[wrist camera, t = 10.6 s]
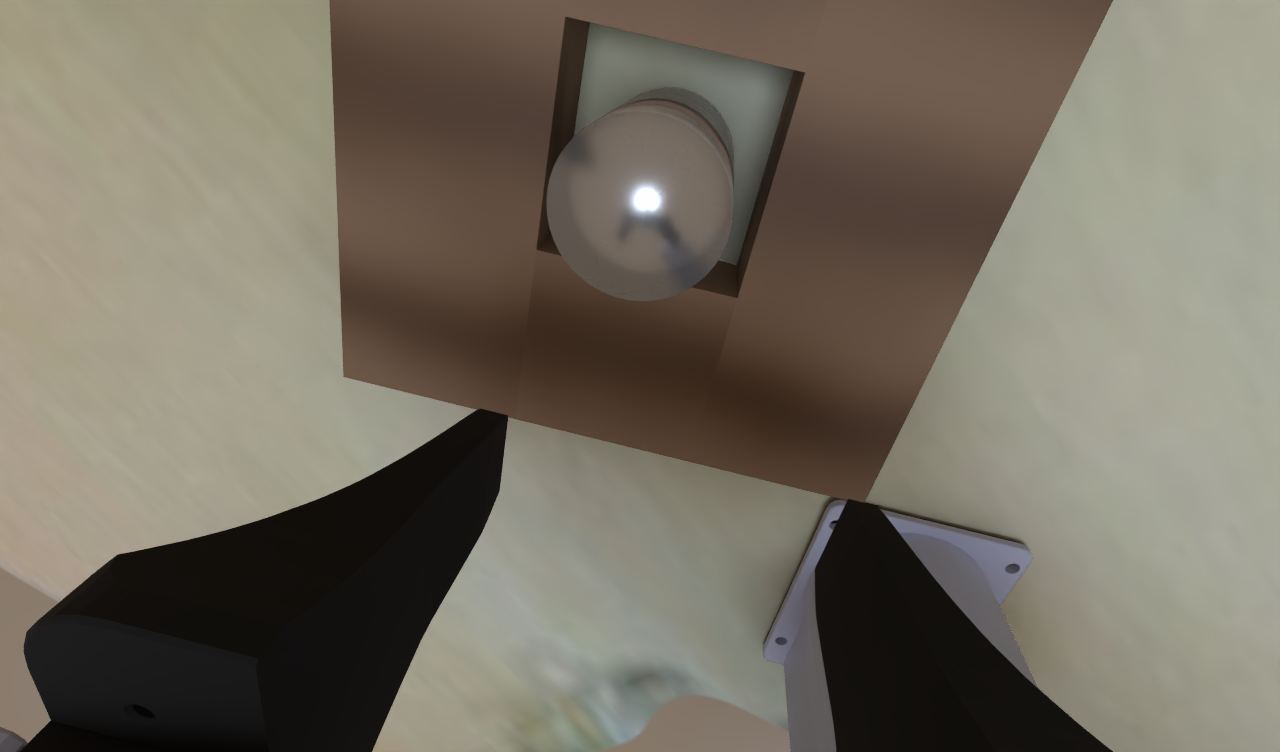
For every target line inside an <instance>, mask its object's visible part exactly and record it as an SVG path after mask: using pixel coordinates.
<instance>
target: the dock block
mask: <svg viewBox="0 0 1280 752" xmlns="http://www.w3.org/2000/svg"><path fill="white" fill-rule="evenodd" d="M1112 1H1113V0H330V23H331V50H332V77H333V104H334V131H335V158H336V184H337V211H338V238H339V265H340V292H341V319H342V346H343V373H344V377H347V378H351V379H355V380H359V381H363V382H367V383H371V384H375V385H379V386H383V387H387V388H391V389H396V390H400V391H404V392H408V393H412V394H416V395H420V396H424V397H428V398H432V399H436V400H440V401H444V402H448V403H453V404H457V405H461V406H465V407H469V408H473V409H477V410H478V409H480V408H481V409H485V410H489V411H493V412H497V413H501V414H505V415H508V417H510V418H514V419H518V420H522V421H526V422H530V423H534V424H538V425H542V426H546V427H550V428H554V429H558V430H563V431H567V432H571V433H575V434H579V435H583V436H587V437H591V438H595V439H599V440H603V441H607V442H611V443H615V444H620V445H624V446H628V447H632V448H636V449H640V450H644V451H648V452H652V453H656V454H660V455H664V456H668V457H673V458H677V459H681V460H685V461H689V462H693V463H697V464H701V465H705V466H709V467H713V468H717V469H721V470H725V471H730V472H734V473H738V474H742V475H746V476H750V477H754V478H758V479H762V480H766V481H770V482H774V483H778V484H782V485H787V486H791V487H795V488H799V489H803V490H807V491H811V492H815V493H819V494H823V495H827V496H831V497H835V498H840V499H844V500H848V499H851V500H855V501H860V502H864V503H865V501H866V499H867V496H868V494H869V492H870V490H871V488H872V486H873V484H874V482H875V480H876V478H877V476H878V474H879V472H880V470H881V468H882V466H883V464H884V462H885V460H886V458H887V456H888V454H889V452H890V450H891V448H892V446H893V444H894V442H895V440H896V438H897V436H898V434H899V432H900V430H901V428H902V426H903V424H904V422H905V420H906V418H907V416H908V414H909V412H910V410H911V408H912V406H913V404H914V402H915V399H916V397H917V395H918V393H919V391H920V389H921V387H922V385H923V383H924V381H925V379H926V377H927V375H928V373H929V371H930V369H931V367H932V365H933V363H934V361H935V359H936V357H937V355H938V353H939V351H940V349H941V347H942V345H943V343H944V341H945V339H946V337H947V335H948V333H949V331H950V329H951V327H952V325H953V323H954V321H955V319H956V317H957V315H958V313H959V311H960V309H961V307H962V305H963V302H964V300H965V298H966V296H967V294H968V292H969V290H970V288H971V286H972V284H973V282H974V280H975V278H976V276H977V274H978V272H979V270H980V268H981V266H982V264H983V262H984V260H985V258H986V256H987V254H988V252H989V250H990V248H991V246H992V244H993V242H994V240H995V238H996V236H997V234H998V232H999V230H1000V228H1001V226H1002V224H1003V222H1004V220H1005V218H1006V216H1007V214H1008V212H1009V210H1010V208H1011V205H1012V203H1013V201H1014V199H1015V197H1016V195H1017V193H1018V191H1019V189H1020V187H1021V185H1022V183H1023V181H1024V179H1025V177H1026V175H1027V173H1028V171H1029V169H1030V167H1031V165H1032V163H1033V161H1034V159H1035V157H1036V155H1037V153H1038V151H1039V149H1040V147H1041V145H1042V143H1043V141H1044V139H1045V137H1046V135H1047V133H1048V131H1049V129H1050V127H1051V125H1052V123H1053V121H1054V119H1055V117H1056V115H1057V113H1058V111H1059V108H1060V106H1061V104H1062V102H1063V100H1064V98H1065V96H1066V94H1067V92H1068V90H1069V88H1070V86H1071V84H1072V82H1073V80H1074V78H1075V76H1076V74H1077V72H1078V70H1079V68H1080V66H1081V64H1082V62H1083V60H1084V58H1085V56H1086V54H1087V52H1088V50H1089V48H1090V46H1091V44H1092V42H1093V40H1094V38H1095V36H1096V34H1097V32H1098V30H1099V28H1100V26H1101V24H1102V22H1103V20H1104V18H1105V16H1106V14H1107V11H1108V9H1109V7H1110V5H1111V3H1112ZM589 22H591V23H595V24H600V25H604V26H608V27H613V28H617V29H621V30H625V31H630V32H634V33H638V34H643V35H647V36H651V37H655V38H660V39H664V40H668V41H673V42H677V43H681V44H685V45H690V46H694V47H698V48H703V49H707V50H711V51H715V52H720V53H724V54H728V55H732V56H737V57H741V58H745V59H750V60H754V61H758V62H762V63H767V64H771V65H775V66H780V67H784V68H788V69H792V70H794V72H793V76H792V79H791V83H790V86H789V89H788V93H787V96H786V100H785V103H784V107H783V110H782V113H781V117H780V120H779V124H778V127H777V131H776V134H775V137H774V141H773V144H772V148H771V151H770V154H769V158H768V161H767V165H766V168H765V172H764V175H763V178H762V182H761V185H760V189H759V192H758V196H757V199H756V202H755V206H754V209H753V213H752V216H751V220H750V223H749V226H748V230H747V233H746V237H745V240H744V243H743V247H742V250H741V254H740V257H739V261H738V264H737V265H733V264H729V263H724V262H720V261H717V263H716V264H715V266H714V267H713V268H712V269H711V270H710V272H709V273H708V274H707V275H706V276H705V277H704V278H703V279H701V280H700V281H699V282H698V283H697V284H695V285H694V286H692V287H690V288H689V289H687V290H685V291H683V292H681V293H679V294H677V295H674V296H671V297H668V298H665V299H660V300H654V301H632V300H626V299H621V298H617V297H614V296H611V295H608V294H606V293H604V292H602V291H599V290H598V289H596V288H594V287H593V286H591V285H589V284H588V283H587V282H585V281H584V280H583V279H582V278H580V277H579V276H578V275H577V274H576V273H575V272H574V271H573V270H572V269H571V268H570V266H569V265H568V264H567V262H566V261H565V260H564V258H563V257H562V255H561V254H560V252H559V250H558V248H557V246H556V244H555V242H554V240H553V237H552V234H551V231H550V228H549V223H548V217H547V206H546V200H547V189H548V184H549V179H550V176H551V173H552V170H553V167H554V165H555V163H556V161H557V159H558V157H559V155H560V154H561V152H562V151H563V149H564V148H565V146H566V145H567V144H568V143H569V142H570V141H571V139H572V138H573V135H574V128H575V121H576V114H577V107H578V100H579V93H580V86H581V78H582V71H583V64H584V57H585V50H586V43H587V36H588V29H589Z"/></svg>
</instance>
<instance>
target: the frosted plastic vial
mask: <svg viewBox="0 0 1280 752" xmlns="http://www.w3.org/2000/svg"><path fill="white" fill-rule="evenodd" d="M733 187H734V153H733V143H732V138H731V134H730V131H729V128H728V126H727V124H726V122H725V120H724V119H723V117H722V115H721V114H720V113H719V111H718V110H717V109H716V108H715V107H714V106H713V105H712V104H711V103H710V102H709V101H708V100H706V99H705V98H703V97H702V96H700V95H698V94H696V93H694V92H692V91H689V90H686V89H681V88H675V87H664V88H657V89H653V90H649V91H647V92H645V93H642V94H640V95H638V96H637V97H635V98H633V99H632V100H630V101H628V102H627V103H625V104H623V105H622V106H620V107H618V108H617V109H615V110H613V111H612V112H610V113H608V114H607V115H605V116H603V117H602V118H600V119H598V120H597V121H595V122H593V123H592V124H590V125H588V126H587V127H585V128H584V129H582V130H581V131H580V132H579V133H578V134H576V135H575V136H574V137H573V138H572V139H571V141H570V142H569V143H568V144H567V145H566V146H565V148H564V149H563V151H562V152H561V154H560V155H559V157H558V159H557V161H556V163H555V165H554V167H553V170H552V173H551V176H550V179H549V184H548V189H547V200H546V206H547V217H548V223H549V228H550V231H551V234H552V237H553V240H554V242H555V244H556V246H557V248H558V250H559V252H560V254H561V255H562V257H563V258H564V260H565V261H566V262H567V264H568V265H569V266H570V268H571V269H572V270H573V271H574V272H575V273H576V274H577V275H578V276H579V277H580V278H582V279H583V280H584V281H585V282H587V283H588V284H589V285H591V286H593V287H594V288H596V289H598V290H599V291H602V292H604V293H606V294H608V295H611V296H614V297H617V298H621V299H626V300H632V301H654V300H660V299H665V298H668V297H671V296H674V295H677V294H679V293H681V292H683V291H685V290H687V289H689V288H690V287H692V286H694V285H695V284H697V283H698V282H699V281H700V280H701V279H703V278H704V277H705V276H706V275H707V274H708V273H709V272H710V270H711V269H712V268H713V267H714V266H715V264H716V263H717V261H718V260H719V258H720V257H721V255H722V253H723V251H724V249H725V247H726V245H727V242H728V239H729V236H730V232H731V227H732V222H733Z"/></svg>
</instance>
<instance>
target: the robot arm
mask: <svg viewBox="0 0 1280 752" xmlns="http://www.w3.org/2000/svg"><path fill="white" fill-rule="evenodd" d="M507 422H508V415H505V414H501V413H497V412H493V411H489V410H485V409H481V408H480V409H478V410H476V411H475V412H473V413H471V414H470V415H468V416H467V417H465V418H464V419H462V420H461V421H459V422H458V423H456V424H455V425H453V426H452V427H450V428H449V429H447V430H446V431H444V432H443V433H441V434H440V435H438V436H437V437H435V438H433V439H432V440H430V441H429V442H427V443H425V444H424V445H422V446H421V447H419V448H417V449H416V450H414V451H413V452H411V453H409V454H408V455H406V456H404V457H403V458H401V459H399V460H397V461H395V462H394V463H392V464H390V465H388V466H386V467H385V468H383V469H381V470H379V471H377V472H375V473H374V474H372V475H370V476H368V477H366V478H364V479H362V480H360V481H358V482H356V483H354V484H352V485H350V486H348V487H345V488H343V489H341V490H338V491H336V492H334V493H332V494H329V495H327V496H325V497H322V498H320V499H317V500H315V501H312V502H309V503H307V504H304V505H301V506H298V507H296V508H293V509H290V510H287V511H285V512H282V513H279V514H276V515H274V516H271V517H268V518H265V519H262V520H259V521H255V522H252V523H249V524H246V525H242V526H239V527H236V528H232V529H228V530H225V531H221V532H217V533H214V534H210V535H206V536H202V537H198V538H194V539H190V540H186V541H181V542H177V543H172V544H167V545H163V546H158V547H153V548H149V549H144V550H139V551H135V552H129V553H124V554H119V555H117V556H115V557H114V558H113V559H111V560H110V561H109V562H107V563H106V564H105V565H104V566H102V567H101V568H100V569H99V570H97V571H96V572H95V573H94V574H92V575H91V576H90V577H89V578H88V579H86V580H85V581H84V582H83V583H82V584H81V585H79V586H78V587H77V588H76V589H75V590H73V591H72V592H71V593H70V594H69V595H68V596H66V597H65V598H64V599H63V600H62V601H60V602H59V603H58V604H57V605H56V606H55V607H53V608H52V609H51V610H50V611H49V612H47V613H46V614H45V615H44V616H43V617H41V618H40V619H39V620H38V621H37V622H36V623H35V624H34V625H33V626H32V627H31V628H30V629H29V630H28V631H27V633H26V638H25V643H24V655H25V659H26V663H27V666H28V669H29V671H30V674H31V676H32V678H33V680H34V683H35V685H36V687H37V689H38V692H39V694H40V696H41V698H42V701H43V703H44V705H45V708H46V710H47V712H48V714H49V716H50V719H51V721H50V722H49V723H48V724H47V725H46V726H45V727H44V728H43V729H42V730H41V731H40V732H39V733H38V734H37V735H36V736H35V737H34V738H33V739H32V740H31V741H30V742H29V743H27V742H26V741H25V740H24V739H23V738H21V737H20V736H19V735H17V734H16V733H14V732H12V731H9V730H7V729H4V728H2V727H0V752H372V750H373V748H374V746H375V743H376V741H377V738H378V736H379V734H380V731H381V729H382V727H383V725H384V722H385V720H386V718H387V715H388V713H389V711H390V708H391V706H392V704H393V702H394V699H395V697H396V695H397V692H398V690H399V688H400V685H401V683H402V681H403V679H404V677H405V674H406V672H407V670H408V668H409V666H410V663H411V661H412V659H413V657H414V655H415V652H416V650H417V648H418V646H419V643H420V641H421V639H422V637H423V635H424V634H425V632H426V630H427V628H428V626H429V624H430V622H431V620H432V618H433V617H434V615H435V613H436V611H437V610H438V608H439V606H440V605H441V603H442V601H443V599H444V598H445V596H446V594H447V592H448V591H449V589H450V587H451V586H452V584H453V582H454V580H455V579H456V577H457V575H458V574H459V572H460V570H461V568H462V567H463V565H464V563H465V561H466V560H467V558H468V556H469V554H470V553H471V551H472V549H473V547H474V546H475V544H476V542H477V540H478V539H479V537H480V535H481V533H482V531H483V529H484V527H485V524H486V522H487V520H488V517H489V515H490V513H491V510H492V508H493V505H494V503H495V501H496V498H497V496H498V493H499V490H500V482H501V473H502V465H503V456H504V448H505V439H506V430H507ZM834 520H838V521H837V523H836V524H832V523H831V522H832V521H834ZM1032 559H1033V557H1032V553H1031V552H1030V550H1029V548H1028V547H1027V546H1025V545H1023V544H1020V543H1016V542H1012V541H1008V540H1004V539H1000V538H996V537H992V536H988V535H984V534H979V533H975V532H971V531H967V530H963V529H959V528H955V527H951V526H947V525H943V524H939V523H935V522H931V521H927V520H922V519H918V518H914V517H910V516H906V515H902V514H898V513H894V512H890V511H886V510H882V509H880V508H879V507H878V506H876V505H872V504H868V503H864V502H860V501H855V500H851V499H848V500H847V501H845V500H836V501H833V502H831V503H830V504H829V505H828V506H827V508H826V510H825V513H824V515H823V517H822V519H821V521H820V523H819V526H818V528H817V530H816V532H815V534H814V537H813V539H812V541H811V543H810V545H809V547H808V550H807V552H806V554H805V556H804V558H803V561H802V563H801V565H800V567H799V569H798V571H797V574H796V576H795V578H794V580H793V582H792V585H791V587H790V589H789V591H788V593H787V595H786V598H785V600H784V602H783V604H782V606H781V609H780V611H779V613H778V615H777V617H776V619H775V622H774V624H773V626H772V628H771V630H770V633H769V635H768V637H767V639H766V641H765V643H764V646H763V656H764V658H765V659H767V660H768V661H771V662H775V663H779V664H783V665H784V673H785V685H786V698H787V710H788V723H789V735H790V748H791V752H1113V751H1112V750H1110V749H1109V748H1108V747H1106V746H1105V745H1104V744H1103V743H1101V742H1100V741H1099V740H1098V739H1096V738H1095V737H1094V736H1093V735H1092V734H1090V733H1089V732H1088V731H1087V730H1085V729H1084V728H1083V727H1082V726H1080V725H1079V724H1078V723H1077V722H1076V721H1075V720H1073V719H1072V718H1071V717H1070V716H1069V715H1068V714H1067V713H1065V712H1064V711H1063V710H1062V709H1061V708H1060V707H1058V706H1057V705H1056V704H1055V703H1054V702H1053V701H1052V700H1050V699H1049V698H1048V697H1047V696H1046V695H1045V694H1044V693H1042V692H1041V691H1040V690H1039V689H1038V687H1037V685H1036V683H1035V681H1034V679H1033V677H1032V675H1031V672H1030V670H1029V668H1028V666H1027V664H1026V662H1025V660H1024V657H1023V655H1022V653H1021V651H1020V649H1019V647H1018V645H1017V643H1016V640H1015V638H1014V636H1013V634H1012V632H1011V630H1010V628H1009V625H1008V623H1007V621H1006V619H1005V617H1004V615H1003V613H1002V611H1001V608H1000V605H1001V604H1002V602H1003V601H1004V599H1005V598H1006V597H1007V595H1008V594H1009V592H1010V591H1011V590H1012V588H1013V587H1014V585H1015V584H1016V583H1017V581H1018V580H1019V578H1020V577H1021V576H1022V574H1023V573H1024V571H1025V570H1026V569H1027V567H1028V566H1029V564H1030V563H1031V561H1032ZM1010 564H1014V565H1012V566H1008V565H1010ZM779 637H783V638H779Z"/></svg>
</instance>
